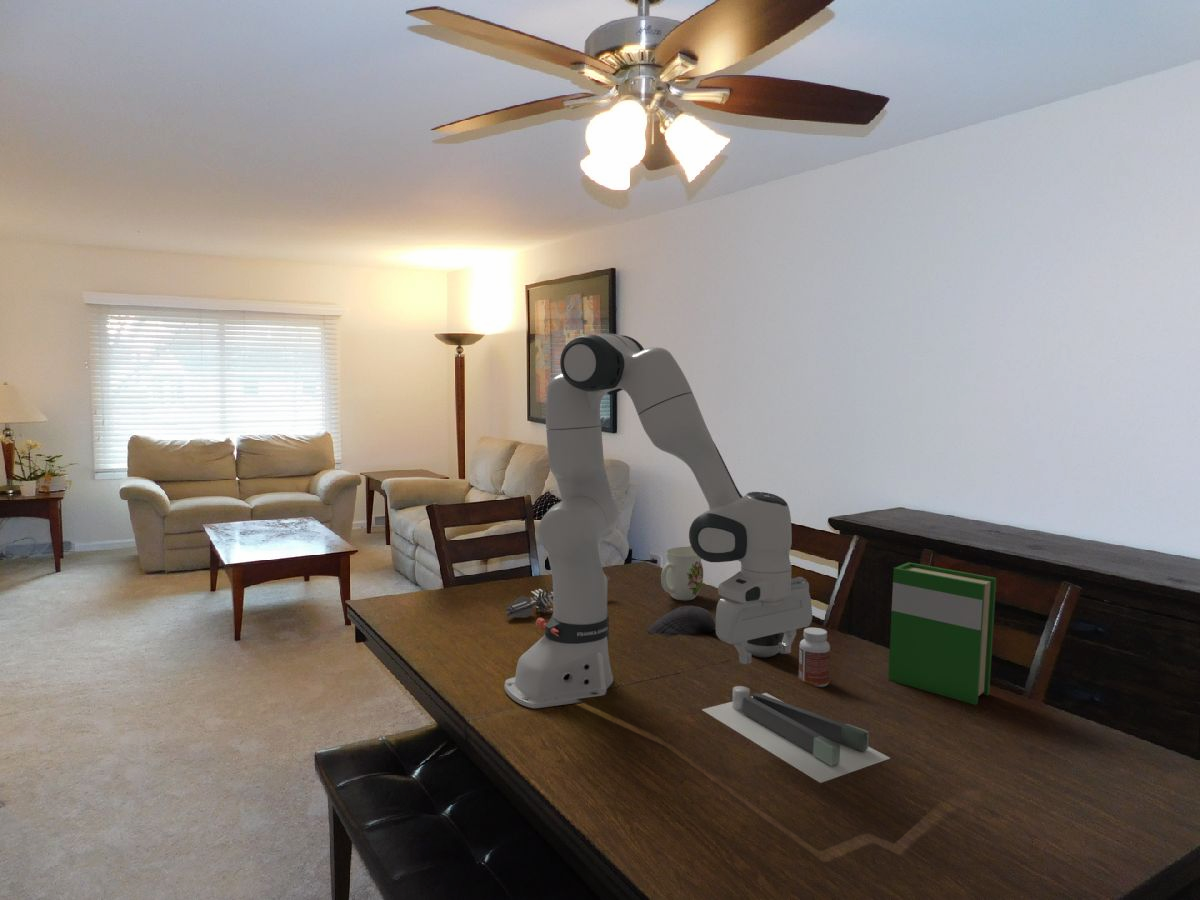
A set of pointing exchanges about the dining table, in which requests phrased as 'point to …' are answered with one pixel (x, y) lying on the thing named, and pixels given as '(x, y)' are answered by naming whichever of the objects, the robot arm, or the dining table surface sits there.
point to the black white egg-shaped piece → (764, 645)
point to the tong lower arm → (786, 726)
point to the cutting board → (794, 746)
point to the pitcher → (682, 573)
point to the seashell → (684, 622)
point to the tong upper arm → (820, 724)
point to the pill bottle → (814, 657)
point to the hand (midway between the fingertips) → (765, 657)
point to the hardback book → (942, 631)
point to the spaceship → (532, 603)
